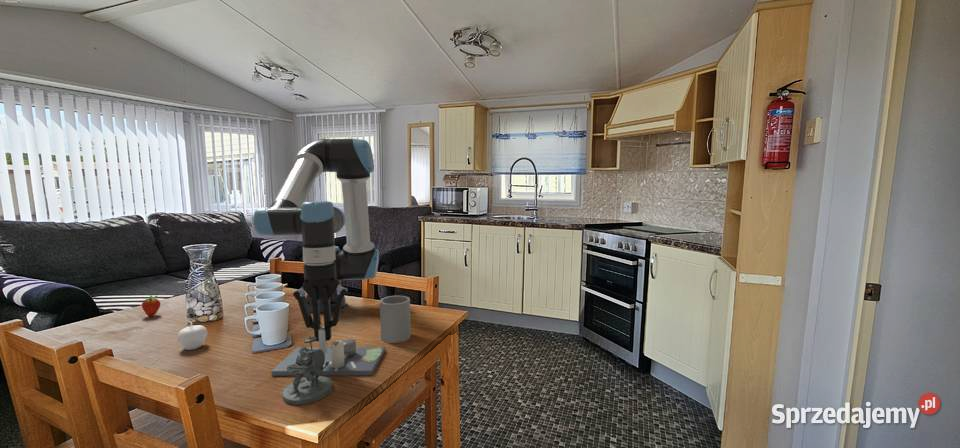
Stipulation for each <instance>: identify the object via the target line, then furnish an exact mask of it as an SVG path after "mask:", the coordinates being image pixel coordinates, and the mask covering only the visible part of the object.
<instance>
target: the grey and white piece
mask: <svg viewBox="0 0 960 448" xmlns="http://www.w3.org/2000/svg"><path fill="white" fill-rule="evenodd" d="M356 344H357V343H356V340H355V339H353V338H348V339H346V338H345V339H343V340H334V341H332V342H331V343H330V347H331V355H332V367H333V368H341V367H343V366H344V365H345V364H344V362H345V360H346V359H347V358H348V357H351V356H353V355H355V354H356V347H357V345H356Z"/></svg>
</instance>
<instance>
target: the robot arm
mask: <svg viewBox="0 0 960 448" xmlns="http://www.w3.org/2000/svg"><path fill="white" fill-rule="evenodd" d="M374 164H375V161H374V156H373V151H372V148H371V145H370V143H369V142H368V141H367V140H365V139H360V138H321V139H316V140H313V141H312V142H310V143H308V144H307V145H305V146H303V147H302V148H301V149H299V151H298V152H297V153H296V154H295V156H294V158H293V160H292V168H291V169H290V172H289V173H288V175H287V177H286V179H285V180H284V182H283V184H282V185H281V187H280V190H278V193H277V194H276V196H275V198H274V200H273V202H272V203H271V204H270V206H269V207H268V206H265V207H259V208H257V209H256V210H255V211H254V213H253V219H252V222H253V227H254V230H255V231H256V233H257V234H258V235H261V236H273V237H275V236H301V238H302V240H301V241H302V261H303V263H304V265H303V283H302V285H301V287H300V288H299V289H295V291H294V292H293V293H292V295H293V297H294V298H295V300H296V301H297V302H298V305H299V310H300V313H301V316H302V318H303V321H304V325H305V327H306V329H313V331H314V332H313V333H314V334H313V335H314V336H313V337H317V340H316V341H315V342H318V347H319V349H321V350H322V351H323V352H324V355H326V353H327V351H328V347H329V346H328V345H329V343H328V341H330V340H331V339H332V327H336V326H337V325H338V323H339V321H340V316H341V313H342V311H341V310H342V309H343V308H344V307H346V305H347V302H346V300H347V299H346V297H345V296H346V294H347V292H348V287H347V286H345V287H344V286H343V285H341V281H348V280H349V281H351V280H352V281H355V280H356V281H359V280H363V281H364V280H371V279H372V280H373V279H374V278H376V276H377V274H378V268H379V261H380V250H379V249H377V248H376V247H375V244H374V243H373V242H372V241H371V234H370V233H371V232H370V221H369V220H370V219H369V217H370V216H369V206H368V187H367V181H368V180H369V179H370V177H371V173H373V172H374V171H375V165H374ZM322 173H336V174H335V176H336V179H337V180H339V181H340V182H341V190H342V191H341V193H342V203H343V211H342V209H341V208H339V207H337V206H334V204H333V202H331V201H328V200H317V201H307V199H308V196H309V194H310V192H311V190H312V188H313V185H314V183H315V181H316V179H317V178H318V177H320V176H321V175H322ZM344 226H345V234H346V236H345V238H346V243H345V244H344V245H343V247H342V249H341V250H340V247H339V246H337V245H335V244H336V243H335V242H336V241H335V238H336V236H335V234H337V233H338V232H340V231H341V230H342V229H343V227H344ZM305 295H306V296H305ZM332 312H333V316H332ZM321 313H323V323H324V325H323V326H321V325H322V320H321V317H322V316H321Z"/></svg>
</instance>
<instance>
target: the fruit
mask: <svg viewBox="0 0 960 448" xmlns="http://www.w3.org/2000/svg"><path fill="white" fill-rule="evenodd" d="M141 307H142V310H143V312H144V313H145V314H146V316H147V317H153V316H155V315H156V314H157V313H158V311H159V310H160V307H161V301H160V300H159V299H158V295H155V296H153V295H151V294H150V297H144V299H142V302H141Z"/></svg>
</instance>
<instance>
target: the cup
mask: <svg viewBox="0 0 960 448" xmlns="http://www.w3.org/2000/svg"><path fill="white" fill-rule="evenodd" d="M379 314H380V315H379V317H380V318H379V319H380V322H379V323H380V340H381V341H382V342H384V343H387V344H399V343H402V342H406V341H408V340H409V339H411V336H412V331H411V330H412V329H411V325H412V324H411V299H410V297H409V296H405V295H390V296H389V295H388V296H386V297H383V298H381V299H379Z"/></svg>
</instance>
